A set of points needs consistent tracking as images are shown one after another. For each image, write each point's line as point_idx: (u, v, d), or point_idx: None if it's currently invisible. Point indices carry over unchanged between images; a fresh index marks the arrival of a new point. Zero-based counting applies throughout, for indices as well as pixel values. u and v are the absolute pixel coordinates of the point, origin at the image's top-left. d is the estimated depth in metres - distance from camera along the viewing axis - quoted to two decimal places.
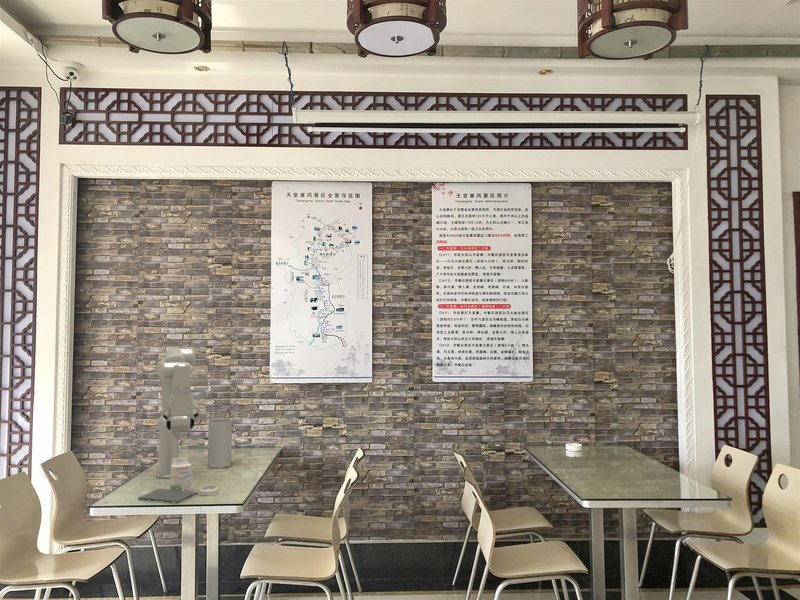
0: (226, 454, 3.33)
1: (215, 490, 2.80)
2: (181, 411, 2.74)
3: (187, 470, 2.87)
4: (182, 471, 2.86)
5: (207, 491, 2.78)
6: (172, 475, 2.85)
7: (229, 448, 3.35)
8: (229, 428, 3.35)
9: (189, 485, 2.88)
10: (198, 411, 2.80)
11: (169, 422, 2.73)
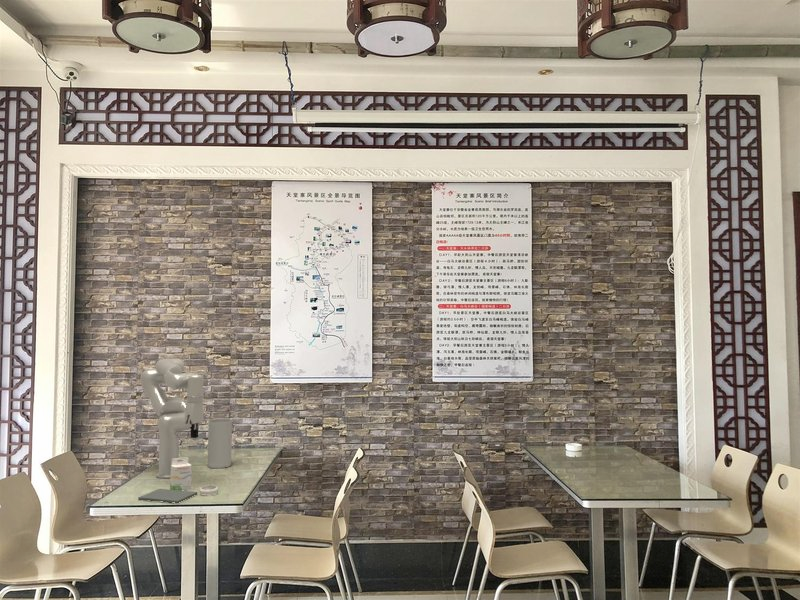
0: (226, 454, 3.33)
1: (215, 490, 2.80)
2: (198, 418, 2.98)
3: (187, 470, 2.87)
4: (182, 471, 2.86)
5: (207, 491, 2.78)
6: (172, 475, 2.85)
7: (229, 448, 3.35)
8: (229, 428, 3.35)
9: (189, 485, 2.88)
10: (200, 423, 3.02)
11: (196, 430, 2.97)
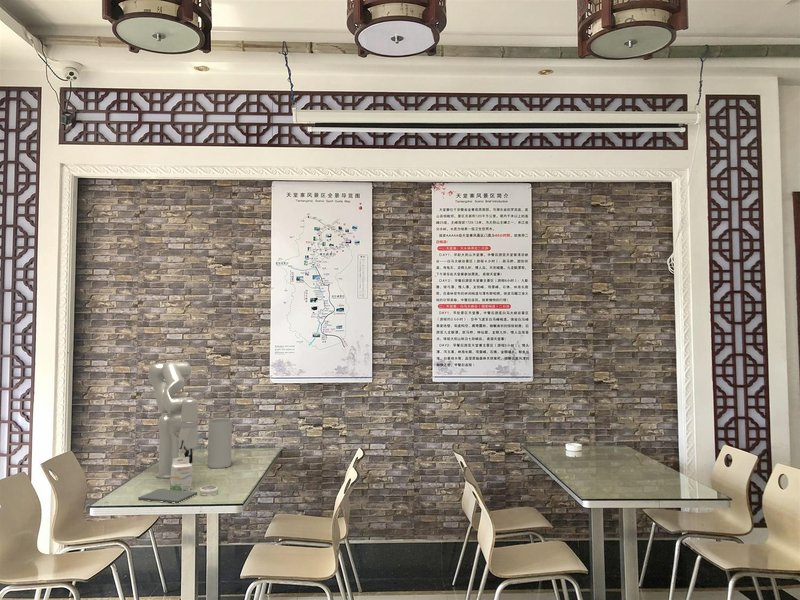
0: (226, 454, 3.33)
1: (215, 490, 2.80)
2: (193, 443, 2.94)
3: (188, 470, 2.87)
4: (183, 471, 2.85)
5: (207, 491, 2.78)
6: (172, 475, 2.84)
7: (229, 448, 3.35)
8: (229, 428, 3.35)
9: (189, 485, 2.88)
10: (194, 448, 2.98)
11: (190, 456, 2.93)
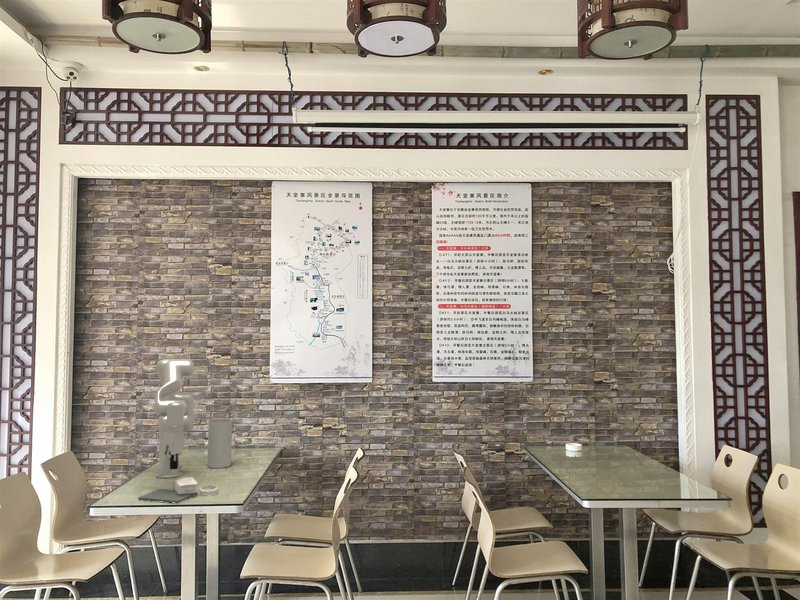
0: (226, 454, 3.33)
1: (215, 490, 2.80)
2: (178, 448, 2.82)
3: None
4: None
5: (207, 491, 2.78)
6: (176, 489, 2.78)
7: (229, 448, 3.35)
8: (229, 428, 3.35)
9: None
10: (180, 452, 2.87)
11: (176, 461, 2.82)
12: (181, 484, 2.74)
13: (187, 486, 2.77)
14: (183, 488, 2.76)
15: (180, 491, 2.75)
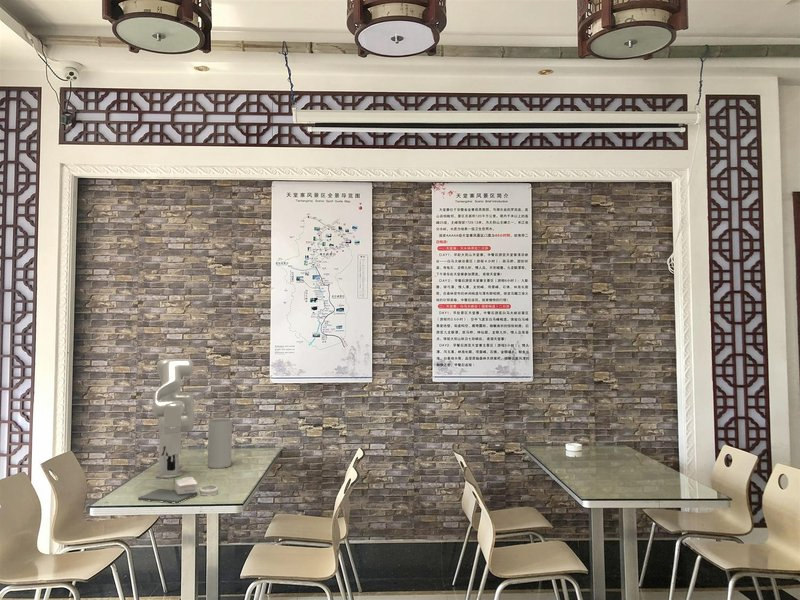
0: (226, 454, 3.33)
1: (215, 490, 2.80)
2: (176, 449, 2.80)
3: None
4: None
5: (207, 491, 2.78)
6: (176, 489, 2.78)
7: (229, 448, 3.35)
8: (229, 428, 3.35)
9: None
10: (177, 454, 2.85)
11: (173, 463, 2.80)
12: (181, 484, 2.74)
13: (187, 486, 2.77)
14: (183, 488, 2.76)
15: (180, 491, 2.75)
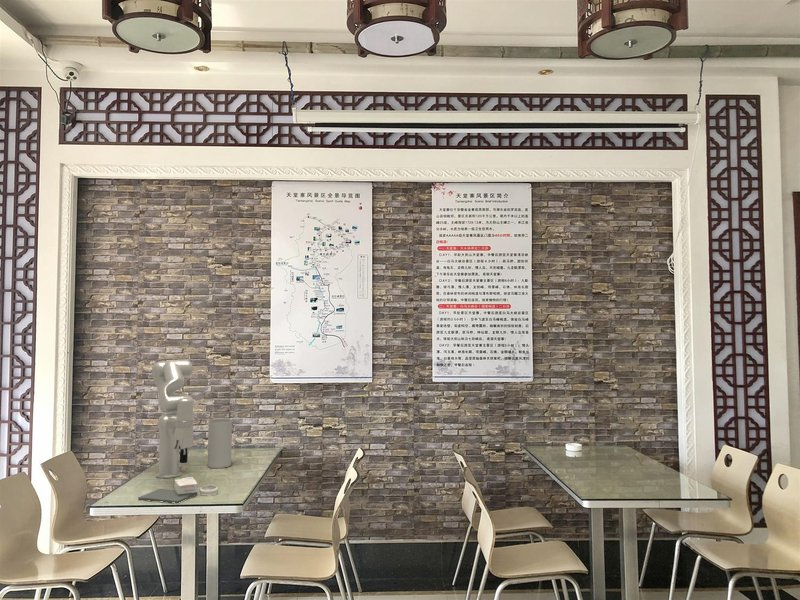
0: (226, 454, 3.33)
1: (215, 490, 2.80)
2: (188, 442, 2.90)
3: None
4: None
5: (207, 491, 2.78)
6: (176, 489, 2.78)
7: (229, 448, 3.35)
8: (229, 428, 3.35)
9: None
10: (189, 447, 2.95)
11: (185, 456, 2.90)
12: (181, 484, 2.74)
13: (187, 486, 2.77)
14: (183, 488, 2.76)
15: (180, 491, 2.75)
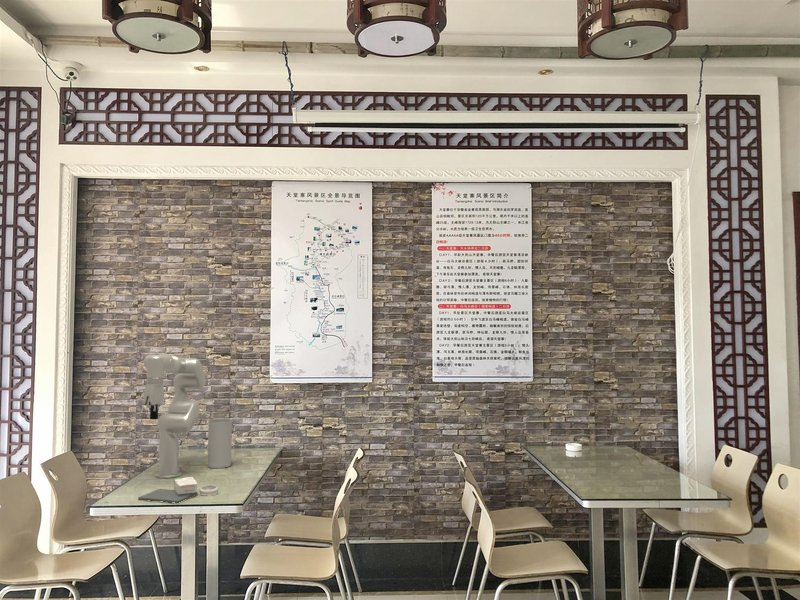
0: (226, 454, 3.33)
1: (215, 490, 2.80)
2: (158, 399, 2.96)
3: None
4: None
5: (207, 491, 2.78)
6: (176, 489, 2.78)
7: (229, 448, 3.35)
8: (229, 428, 3.35)
9: None
10: (160, 404, 3.00)
11: (156, 412, 2.95)
12: (181, 484, 2.74)
13: (187, 486, 2.77)
14: (183, 488, 2.76)
15: (180, 491, 2.75)
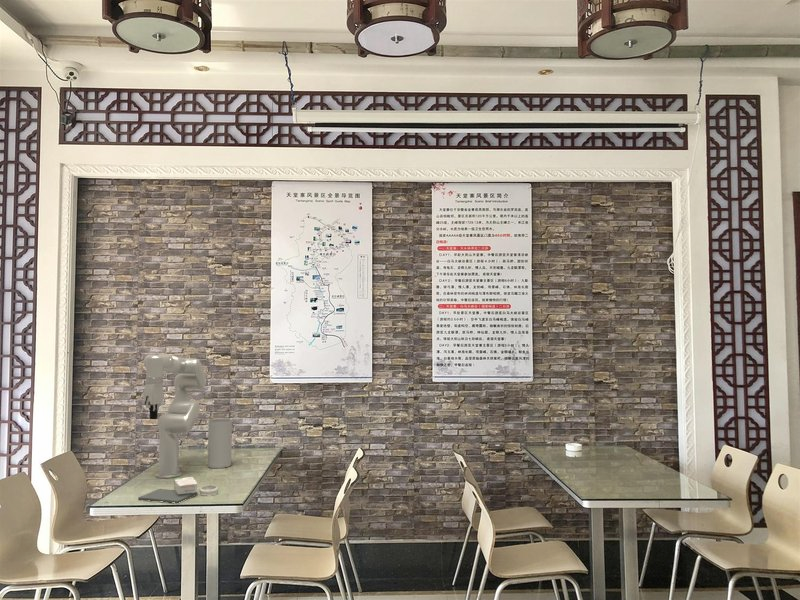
0: (226, 454, 3.33)
1: (215, 490, 2.80)
2: (158, 399, 2.96)
3: None
4: None
5: (207, 491, 2.78)
6: (176, 489, 2.78)
7: (229, 448, 3.35)
8: (229, 428, 3.35)
9: None
10: (160, 404, 3.00)
11: (155, 412, 2.95)
12: (181, 484, 2.74)
13: (187, 486, 2.77)
14: (183, 488, 2.76)
15: (180, 491, 2.75)
